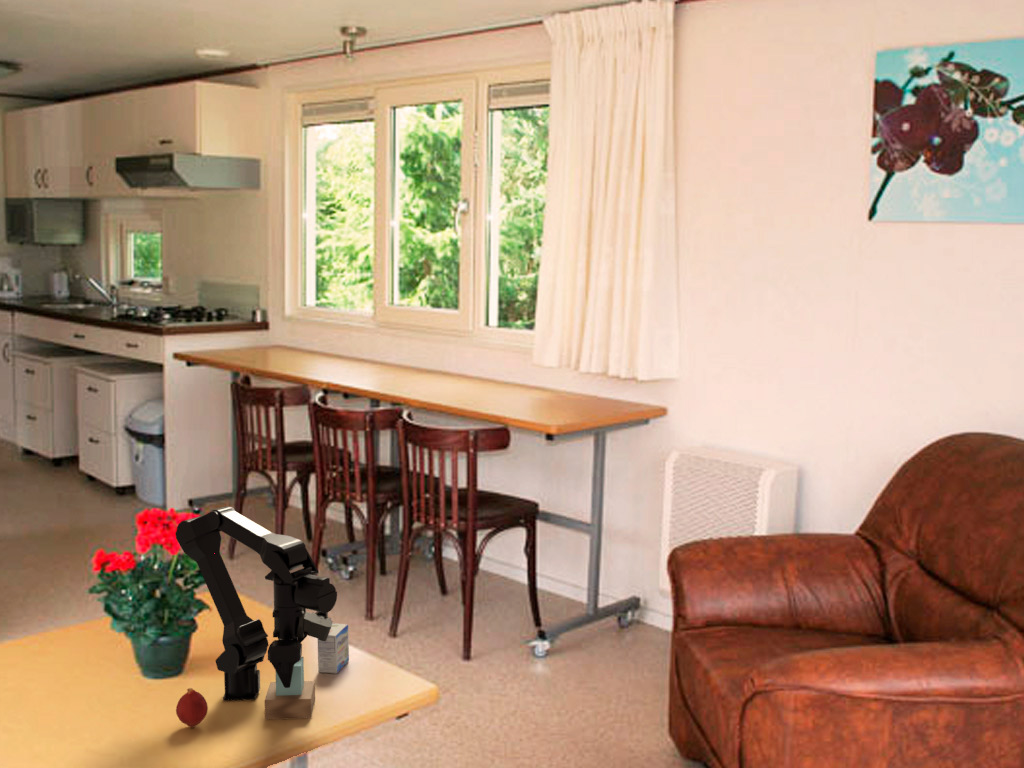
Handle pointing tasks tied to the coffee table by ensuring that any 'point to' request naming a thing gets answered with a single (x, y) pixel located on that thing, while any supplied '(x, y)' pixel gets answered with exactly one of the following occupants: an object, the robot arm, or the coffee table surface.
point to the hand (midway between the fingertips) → (289, 678)
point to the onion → (191, 708)
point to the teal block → (292, 681)
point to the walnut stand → (290, 703)
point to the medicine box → (334, 650)
